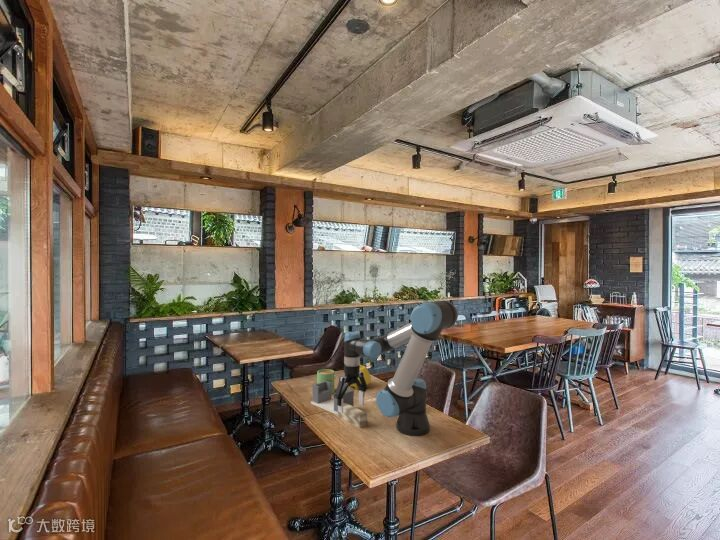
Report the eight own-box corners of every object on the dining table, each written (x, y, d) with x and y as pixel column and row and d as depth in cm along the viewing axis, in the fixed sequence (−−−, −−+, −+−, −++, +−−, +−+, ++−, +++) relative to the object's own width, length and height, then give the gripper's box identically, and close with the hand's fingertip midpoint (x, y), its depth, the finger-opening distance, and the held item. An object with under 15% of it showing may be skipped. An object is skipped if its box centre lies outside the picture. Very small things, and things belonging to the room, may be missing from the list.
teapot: (337, 383, 238) (337, 361, 238) (357, 379, 247) (357, 358, 246) (354, 392, 221) (354, 369, 221) (375, 387, 230) (376, 365, 230)
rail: (367, 425, 177) (367, 413, 177) (359, 428, 174) (359, 415, 174) (344, 414, 190) (344, 402, 190) (337, 416, 187) (337, 404, 187)
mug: (328, 396, 215) (328, 375, 215) (313, 393, 220) (313, 372, 220) (340, 389, 226) (340, 369, 225) (326, 386, 231) (326, 367, 231)
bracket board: (355, 409, 195) (355, 390, 195) (339, 415, 187) (339, 395, 187) (326, 398, 212) (326, 380, 211) (310, 403, 204) (310, 385, 204)
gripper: (364, 358, 193) (363, 399, 193) (326, 367, 175) (326, 412, 176) (375, 361, 187) (374, 403, 188) (337, 371, 170) (336, 418, 171)
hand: (351, 408), depth 182 cm, fingers open, 13 cm apart
